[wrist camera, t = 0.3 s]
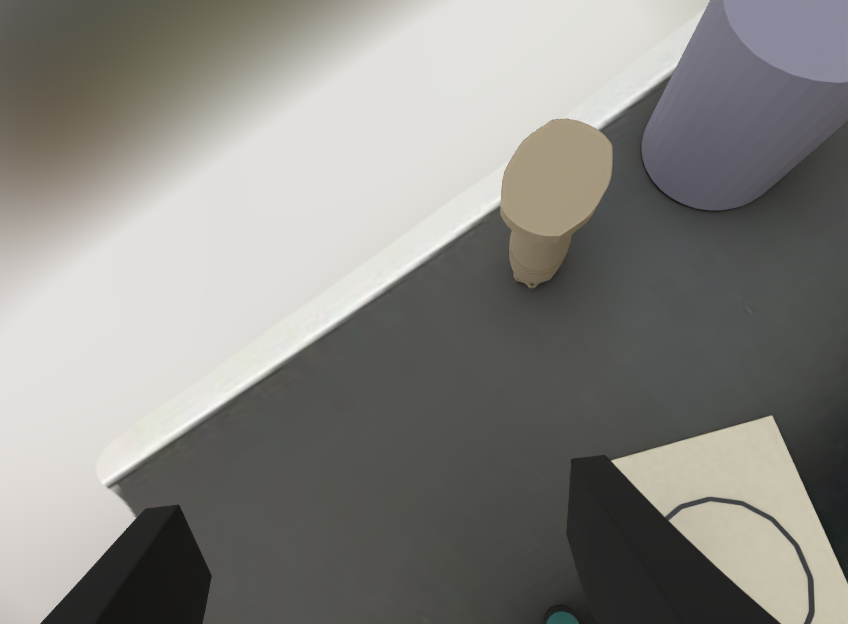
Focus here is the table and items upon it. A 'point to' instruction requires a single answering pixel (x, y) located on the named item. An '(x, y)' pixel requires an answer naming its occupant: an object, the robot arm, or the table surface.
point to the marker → (560, 616)
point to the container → (749, 99)
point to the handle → (552, 194)
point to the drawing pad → (747, 517)
